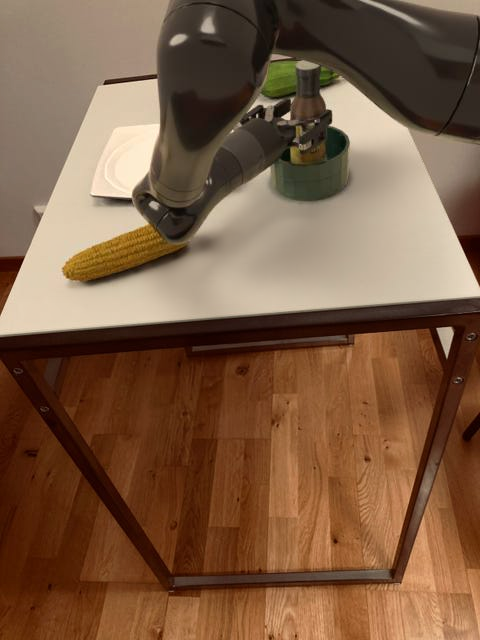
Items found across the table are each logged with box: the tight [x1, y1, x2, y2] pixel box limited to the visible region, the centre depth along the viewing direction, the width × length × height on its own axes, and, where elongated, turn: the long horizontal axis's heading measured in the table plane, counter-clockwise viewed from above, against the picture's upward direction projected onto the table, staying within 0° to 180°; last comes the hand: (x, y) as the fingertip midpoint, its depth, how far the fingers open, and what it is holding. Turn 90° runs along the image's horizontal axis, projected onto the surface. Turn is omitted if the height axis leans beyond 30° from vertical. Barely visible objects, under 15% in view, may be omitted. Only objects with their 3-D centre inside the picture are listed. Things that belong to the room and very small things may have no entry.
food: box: [61, 223, 190, 282], centre depth 83 cm, size 21×6×6 cm, turn 113°
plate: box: [89, 122, 235, 201], centre depth 104 cm, size 29×29×3 cm
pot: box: [269, 125, 351, 202], centre depth 92 cm, size 14×14×7 cm
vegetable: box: [260, 60, 341, 99], centre depth 117 cm, size 7×7×20 cm
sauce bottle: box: [289, 60, 327, 164], centre depth 87 cm, size 6×6×20 cm
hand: (309, 109), depth 85 cm, fingers open, 8 cm apart
